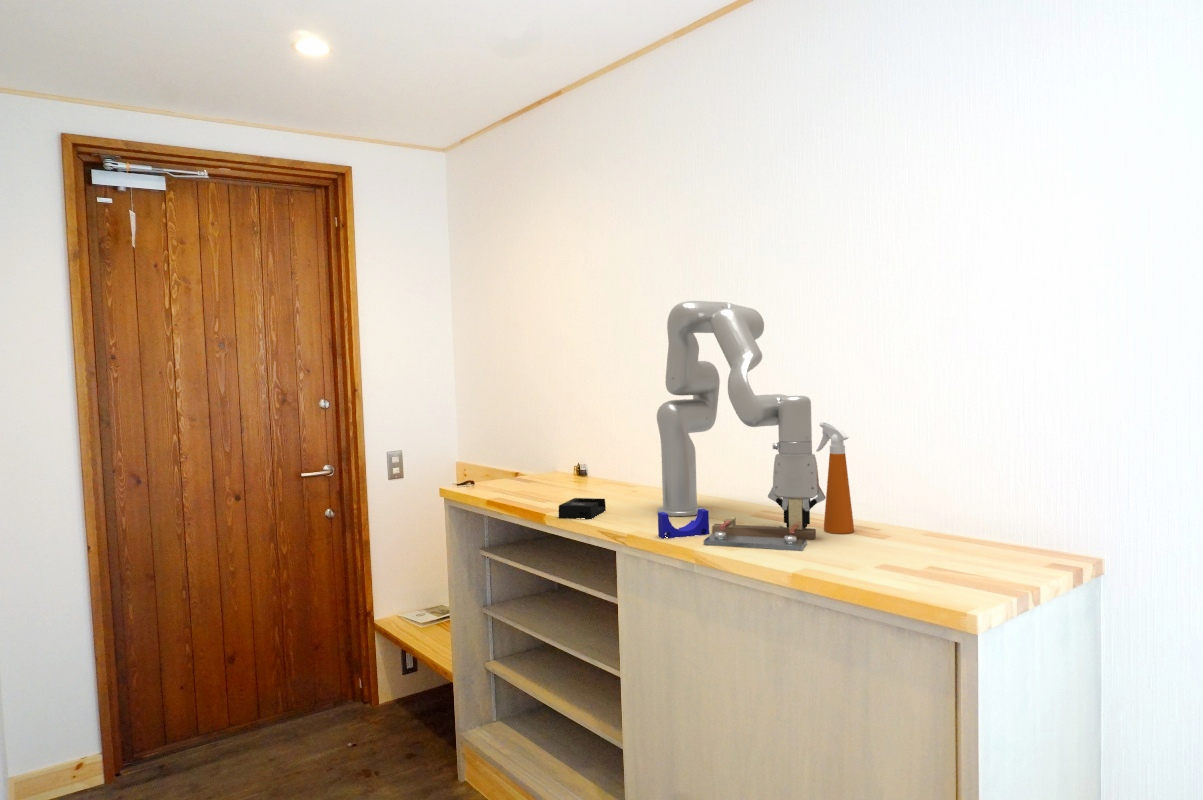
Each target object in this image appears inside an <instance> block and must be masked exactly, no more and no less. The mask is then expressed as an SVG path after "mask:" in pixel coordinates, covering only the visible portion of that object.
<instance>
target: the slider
mask: <svg viewBox="0 0 1203 800" xmlns="http://www.w3.org/2000/svg"><path fill="white" fill-rule="evenodd" d="M788 502H789V533H795V531H796V530H802V529H803V526H802V511H803V508H804V502H803V498H789V499H788Z"/></svg>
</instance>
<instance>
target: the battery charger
mask: <svg viewBox="0 0 1203 800" xmlns="http://www.w3.org/2000/svg"><path fill="white" fill-rule="evenodd" d="M606 509H607V507H606V498H595V497H593V498H592V497H591V498H590V497H589V498H587V497H574V498H572V499H570V500H566V501H565V502H563V503H561V504H559V505H558V519H561V520H562V519H565V520H577V519H576V518H585V519H584V520H589V519H591V520H593V519H594V517H595V516H596V517H598V516H600V515H601V513H602V514H604V513H605V512H606ZM604 511H605V512H604ZM599 514H600V515H599ZM597 515H598V516H597ZM596 517H595V518H596ZM592 518H593V519H592Z"/></svg>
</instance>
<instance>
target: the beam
mask: <svg viewBox="0 0 1203 800" xmlns="http://www.w3.org/2000/svg"><path fill="white" fill-rule="evenodd" d="M736 519H737V517H729V516H727V517H726V518H724V519H723V523H714V524H713V525H712V526H711V529H712V534H714V533H715V532H726V535H735V536H753V537H771V538H784V536H788V535H792V536H796V539H807V540H811V541H812V540H813V541H815V538H816V536H817V535H816V533H817V532H816V528H809V527H808V528H807V527H806V528H803V529H802V530H796V531H795V533H789V527H786V526H769V525H749V524H737V521H736Z"/></svg>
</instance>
